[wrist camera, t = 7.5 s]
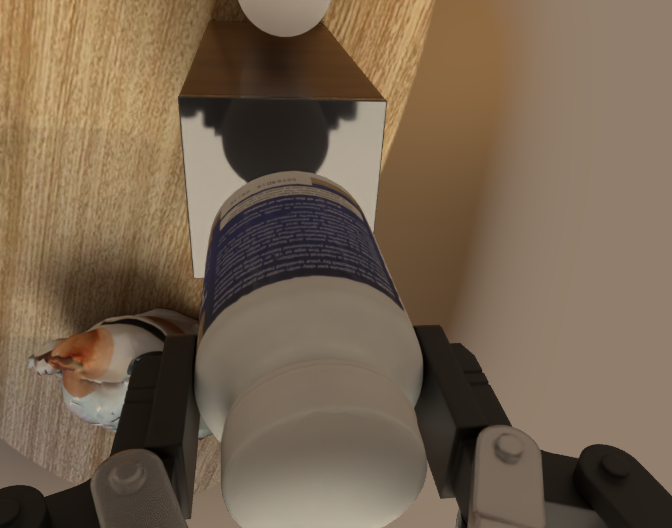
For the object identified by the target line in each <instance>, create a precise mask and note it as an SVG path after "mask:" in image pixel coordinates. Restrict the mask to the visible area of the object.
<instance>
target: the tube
mask: <svg viewBox="0 0 672 528" xmlns="http://www.w3.org/2000/svg"><path fill="white" fill-rule="evenodd" d="M238 2H239V4H240V6H241V8H242V10H243V12H244V13H245V15H246V16H247V18H248V19H249V20H250V21H251V22H252V23H253V24H254V25H255V26H257V27H258V28H259V29H261V30H262V31H264V32H267V33H269V34H271V35H275V36H280V37H292V36H296V35H300V34H303V33H305V32H307V31H309V30H310V29H312V28H313V27H315V26H316V25H317V24H318V23H319V22H320V21H321V20H322V18H323V17H324V15H325V14H326V12H327V10H328V8H329V5H330V3H331V0H238Z"/></svg>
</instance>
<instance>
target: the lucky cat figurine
mask: <svg viewBox="0 0 672 528" xmlns="http://www.w3.org/2000/svg"><path fill="white" fill-rule="evenodd" d="M198 329H199V321H197V320H195V319H192V318H189V317H187V316H184V315H182V314H180V313H178V312H175V311H172V310H168V309H162V308H158V309H154V310H152V311H148V312H145V313H143V314H136V315H134V316H131V315H127V316H118V317H111V318H108V319H105V320H103V321H101V322H99V323H97V324H96V325H94V326H93V327H92V328H91V329H89V330H87V331H85V332H83V333H79V334H75V335H73V336H70V337H69V338H65V339H56V340H52V341H50V342H48V343H47V344H45V345H44V347H43V348H42V349H40V350H39V351H38V352H36V353H35V354H33V355H31V356H30V357H29V358H28V360H29V361H28V365H27V369H30V368H32V369H33V370H34V371H35V372H36V373H37V374H38V375H46V374H49V375H53V374H55V375H57V376H58V377H60V378H62V390H63V397H64V401H65V403H66V405H67V407H68V409H69V410H70V411H71V412H72V413H74V414H75V415H76V416H78V417H79V418H81V419H82V420H84V421H85V422H88V423H91V424H93V425H95V426H101V427H103V428H106V429H113V430H114V432H116V430H117V426H118V422H119V419H120V415H121V411H122V407H123V404H124V399H125V395H126V391H127V390H128V388H127V387H128V383H129V379H130V375H131V371H132V370H133V369H134V368H135V366H136V365H137V364H138V363H139V362H140V361H141V359H142V358H143V357H144V356H160V355H162V353H163V348H164V343H165V338H166V335H169V334H195V333H197V337H198ZM208 435H209V436H210V435H213V433H212V432H211V431H210V429H209V428H208V426H207V425H206V423H205V422H204V420H203V418H202V416H201V414H200V425H199V436H198V440H202V439H204V438H205V437H206V436H208Z"/></svg>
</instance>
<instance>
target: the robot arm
mask: <svg viewBox="0 0 672 528" xmlns="http://www.w3.org/2000/svg"><path fill="white" fill-rule="evenodd" d="M413 328H414V331H415V334H416V337H417V339H418V342H419V345H420V349H421V353H422V357H423V369H424V371H423V382H422V387H421V392H420V395H419V398H418V400H417V403H416V405H415V407H414V410H415V413H416V417H417V424H418V428H419V431H420V434H421V438H422V441H423V444H424V448H425V452H426V458H427V460H428V463H429V466H430V469H431V472H432V475H433V478H434V481H435V484H436V487H437V490H438V493H439V496H440V498H442V499H443V498H454V497H455V498H456V500H457V503H458V506H459V511H458V514H457V519H456V528H672V496H671V495H670V494H669V493H668V492H667V491H666V490H665V489H664V487H663V486H661V484H660V483H659V482H658V481H657V480H656V479H655V478H654V477H653V476H652V475H651V474H650V473H649V472H648V471H647V470H646V469H645V468H644V467H643V466H642V465H641V464H640V463H639V462H638V461H637V460H636V459H635V458H634V457H632V456H631V455H629V454H628V453H626V452H625V451H623V450H620V449H618V448H616V447H613V446H609V445H603V444H595V445H591V446H588V447H586V448H585V449H584V450H583V451H582V452H581V454H580V457H579V458H573V457H569V456H564V455H559V454H553V453H549V452H545V451H543V450H540V449H539V447H538V445H537V444H536V442H535V441H534V440H533V439H532V438H531V437H530V436H529V435H527V434H526V433H524V432H523V431H521V430H519V429H516V428H514V427H512V425H511V423H510V421H509V420H508V418H507V416H506V414H505V412H504V410H503V408H502V406H501V404H500V403H499V401H498V399H497V397H496V395H495V393H494V391H493V390H492V388H491V386H490V385H489V384H488V380H487V378H486V376H485V374H484V373H482V369H481V367H480V365H479V363H478V361H477V359H476V358H475V356H474V355H473V354H472V353H471V352H470V351H469V350H468V349H466V348H465V347H464V346H463V345H462V344H461V343H452V344H450V343H449V342H448V339H447V337H446V335H445V333H444V331H443V329H442V327H441V326H440V325H421V326H413ZM196 346H197V333H195V334H169V335H166V338H165V343H164V348H163V353H162V355H160V356H144V357H143V358H142V359H141V361H140V362H139V363H138V364H137V365H136V366H135V368H134V369H133V370H132V371H131V375H130V379H129V383H128V387H127V388H128V390H127V391H126V395H125V399H124V404H123V407H122V411H121V415H120V419H119V422H118V426H117V430H116V434H115V438H114V442H113V446H112V450H111V453H110V456H109V458H107V459H106V460H105V461H103V462H102V463H101V464H100V465H99V466H98V468H97V469H96V470H95V472H94V474H93V476H92V478H90V479H89V480H87V481H86V482H84V483H82V484H80V485H78V486H75V487H73V488H70V489H67V490H64V491H61V492H58V493H55V494H52V495H49V496H46V497H44V496H43V494H42V493H41V492H40V491H39V490H37V489H36V488H33V487H31V486H25V485H15V486H9V487H5V488H2V489H0V528H188V526H187V523H186V521H185V519H191V513H192V501H193V491H194V480H195V469H196V458H197V447H198V436H199V425H200V411H199V409H198V406H197V403H196V399H195V393H194V364H195V355H196Z"/></svg>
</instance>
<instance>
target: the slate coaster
mask: <svg viewBox="0 0 672 528" xmlns="http://www.w3.org/2000/svg"><path fill="white" fill-rule="evenodd" d="M178 104H179V116H180V127H181V139H182V151H183V163H184V174H185V186H186V198H187V209H188V221H189V233H190V244H191V256H192V268H193V278H204V274H205V264H206V256H207V249H208V241H209V236H210V231H211V227H212V224H213V221H214V218H215V216H216V214H217V212H218V211H219V209H220V208H221V206H222V205H223V204H224V202H225V201H226V200H227V199H228V198H229V197H230V196H231V195H232V194H233V193H234V192H236V191H237V190H238V189H239V188H241V187H242V186H243V185H245V184H247V183H249V182H250V181H252V180H255V179H257V178H260V177H262V176H265V175H269V174H273V173H278V172H287V171H300V172H308V173H313V174H317V175H321V176H323V177H326V178H328V179H330V180H331V181H333V182H335V183H337V184H338V185H340V186H342V187H343V188H344V189H345V190H346V191H348V192H349V193H350V194H351V195H352V197H353V198H354V199H355V200H356V202H357V203H358V204H359V206H360V207H361V209H362V211H363V213H364V215H365V217H366V219H367V221H368V223H369V226H370V228H371V230H372V233H373V235H374V228H375V227H374V226H375V218H376V207H377V197H378V188H379V178H380V168H381V158H382V148H383V138H384V128H385V118H386V108H387V100H386V99H384V98H337V97H290V96H243V95H195V94H179V96H178Z"/></svg>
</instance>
